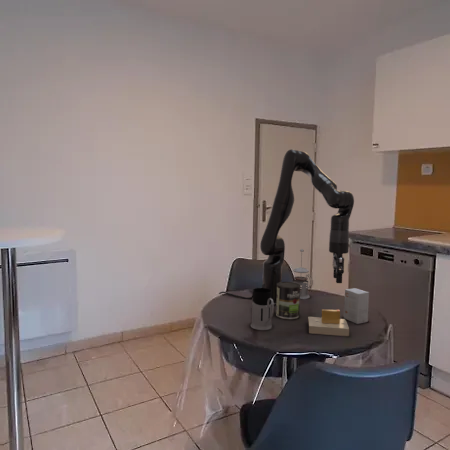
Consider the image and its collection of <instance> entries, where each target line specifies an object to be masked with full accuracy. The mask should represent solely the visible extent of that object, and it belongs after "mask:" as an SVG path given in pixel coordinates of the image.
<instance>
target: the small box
mask: <svg viewBox="0 0 450 450" xmlns="http://www.w3.org/2000/svg"><path fill="white" fill-rule="evenodd" d="M369 303H370V292H369V291H367V290H362V289H360V288H356V287H352V288H346V289H344V303H343V305H344V307H343V319H345V320H346V321H349V322H351V323H353V324H356V325H360V324H365V323H368V321H369V306H370V304H369Z"/></svg>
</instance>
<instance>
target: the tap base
mask: <svg viewBox="0 0 450 450" xmlns="http://www.w3.org/2000/svg"><path fill="white" fill-rule="evenodd" d="M307 329H308V334H313V335H327V336H341V337H350V327H349V325H348V322H347V319H344V318H340V324H334V323H322V322H321V316H320V317H318V316H308V317H307Z"/></svg>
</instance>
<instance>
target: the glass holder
mask: <svg viewBox="0 0 450 450" xmlns="http://www.w3.org/2000/svg"><path fill="white" fill-rule="evenodd" d="M271 292H272V291H271V290H270V289H267V288H262V287H255V288H253V289H252V295H253V298H252V299H251V300H252V301H251V303H252V304H251V308H252V309H251V323H250V327H251V328H252V329H253V330H256V331H268V330H271V329H273V325H272V318H273V315H274V310H275V305H274V302H273V300H272V298H271ZM271 301H272V302H271Z"/></svg>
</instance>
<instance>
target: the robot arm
mask: <svg viewBox="0 0 450 450" xmlns="http://www.w3.org/2000/svg"><path fill="white" fill-rule="evenodd" d="M295 172H300V173H301V172H302V173H303V174H305V175H306V176H308V177H309V180H310V183H311V185H312V186H313V187H314V189H315V190H316V191H317V192H318V193H319V194H321V195H322V198H323V199H324V201H325V203H326V204H327V205H328V207H330V208H332V209H338V210H337V213H335V214H333V215H331V217H330V229H329V235H328V236H329V241H328V252H329V253H331V254H332V269H333V274H332V275H333V278H334V279H335V283H336V284H342V283H343V274H344V273H345V257H344V256H343V254H348V253H349V250H350V249H349V248H350V218H351V215H352V212H353V208H354V205H355V204H354V203H355V198H354V195H353V193H352V192H351V191H349V190H338V185H337V183H336V182H335V181H334V180H332V178H330V177H329V176H328V175H327V174H326V173H325V172H323V170H321V168H320V167H319V166H318V165H317V164H316V162H315V161H314V160H313V158H312V157H311V156H310V155H309V153H307V152H306V151H303V150H297V149H291V148H290V149H288V150H287V151H285V154H284V155H283V159H282V164H281V168H280V176H279V180H278V183H277V184H278V185H277V188H276V192H275V195H274V199H273V202H272V206H271V210H270V213H269V217H268V221H267V224H266V226H265V229H264V232H263V235H262V237H261V239H260V245H259V247H260V248H259V249H260V251H261V253H262V254H263V255H265V256H268V257H267V258H266V259H265V260H264V261H263V263H262V284H261V288H267V289H270V290H271V291H272V292H271V298H272V300H273V302H274V306H276V303H277V283H279V282H283V281H282V276H283V265H284V262H285V253H286V252H285V250H286V243H285V241H284V238H283V237H282V236H280V235H279V233H280V230H281V228H282V227H283V226H284V224H285V223H286V221H287V220H288V219H289V217H290V215H291V214H292V210H293V207H294V205H295V194H294V190H293V189H294V188H293V185H292V182H293V177H294V173H295ZM221 294H226V295H228V296H233V297H235V298H240V299H243V300H253V294H252V295H251V297H250V296H249V297H247V296H246V297H245V296H241V295H237V294H233V293H229V292H227V291H220V292H219V293H218V295H221ZM271 302H272V301H271Z"/></svg>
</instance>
